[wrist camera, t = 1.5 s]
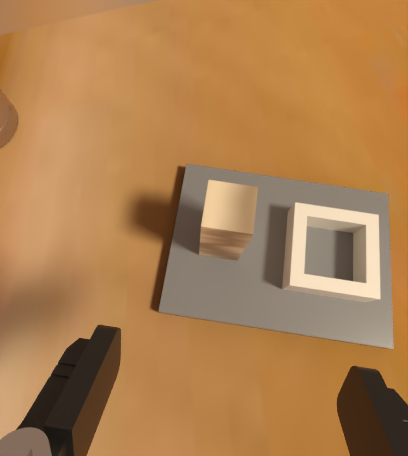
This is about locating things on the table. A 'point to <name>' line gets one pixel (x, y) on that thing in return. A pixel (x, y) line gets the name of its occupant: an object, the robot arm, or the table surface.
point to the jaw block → (227, 219)
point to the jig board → (288, 261)
